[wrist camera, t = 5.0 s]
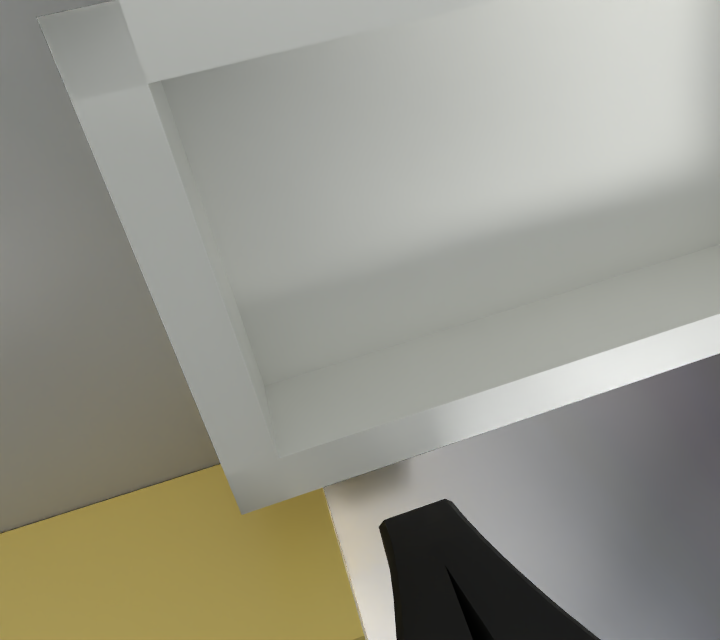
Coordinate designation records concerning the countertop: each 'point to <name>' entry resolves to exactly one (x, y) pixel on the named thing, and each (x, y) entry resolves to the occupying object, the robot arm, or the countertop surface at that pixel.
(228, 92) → the tray
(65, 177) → the countertop surface
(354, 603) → the block
